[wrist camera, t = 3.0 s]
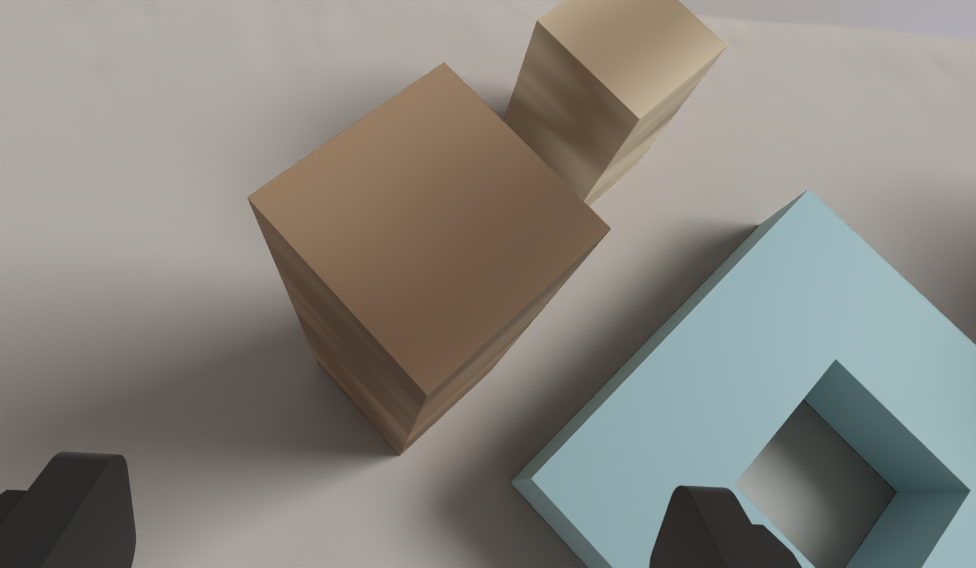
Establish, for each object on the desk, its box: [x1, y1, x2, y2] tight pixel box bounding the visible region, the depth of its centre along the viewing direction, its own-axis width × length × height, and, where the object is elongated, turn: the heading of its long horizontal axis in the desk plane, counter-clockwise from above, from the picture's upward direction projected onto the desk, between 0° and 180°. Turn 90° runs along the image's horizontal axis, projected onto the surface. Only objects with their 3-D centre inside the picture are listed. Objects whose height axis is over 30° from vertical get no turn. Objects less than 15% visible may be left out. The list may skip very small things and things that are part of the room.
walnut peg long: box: [247, 63, 611, 455], centre depth 16 cm, size 4×4×12 cm
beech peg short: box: [504, 0, 727, 206], centre depth 22 cm, size 4×4×7 cm
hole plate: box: [511, 189, 976, 568], centre depth 21 cm, size 14×14×3 cm
